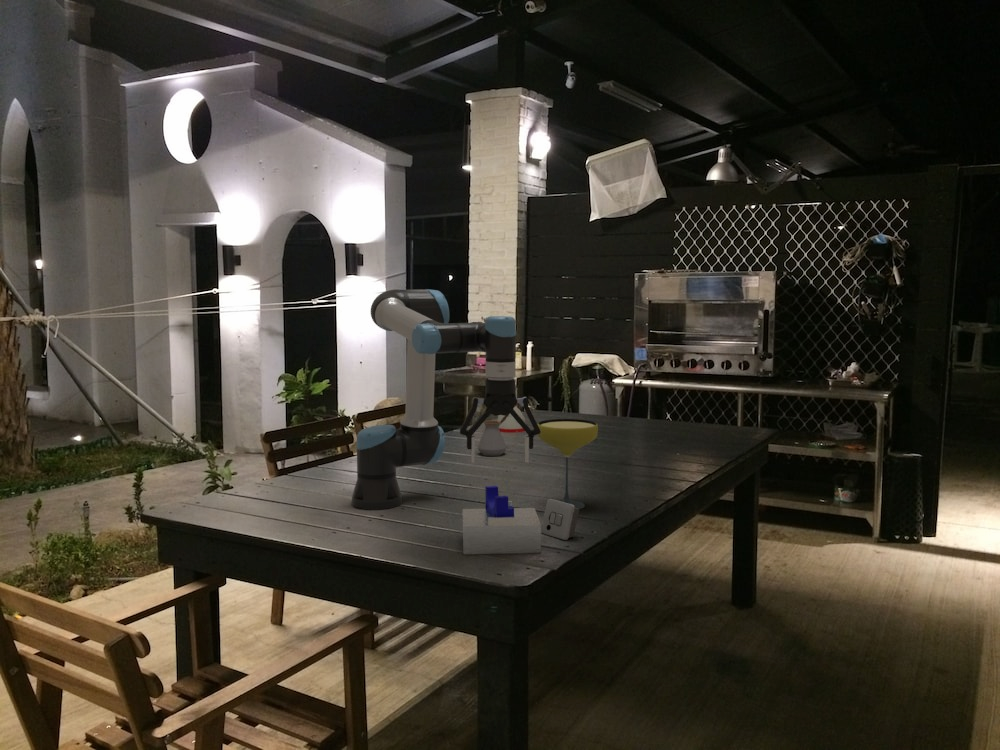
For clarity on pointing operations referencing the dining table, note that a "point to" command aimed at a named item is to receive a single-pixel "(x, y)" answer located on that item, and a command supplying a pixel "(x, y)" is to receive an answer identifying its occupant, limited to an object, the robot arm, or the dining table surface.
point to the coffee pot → (492, 439)
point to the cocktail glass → (568, 440)
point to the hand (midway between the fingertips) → (499, 461)
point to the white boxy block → (501, 532)
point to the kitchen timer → (511, 423)
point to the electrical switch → (559, 519)
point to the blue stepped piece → (497, 503)
